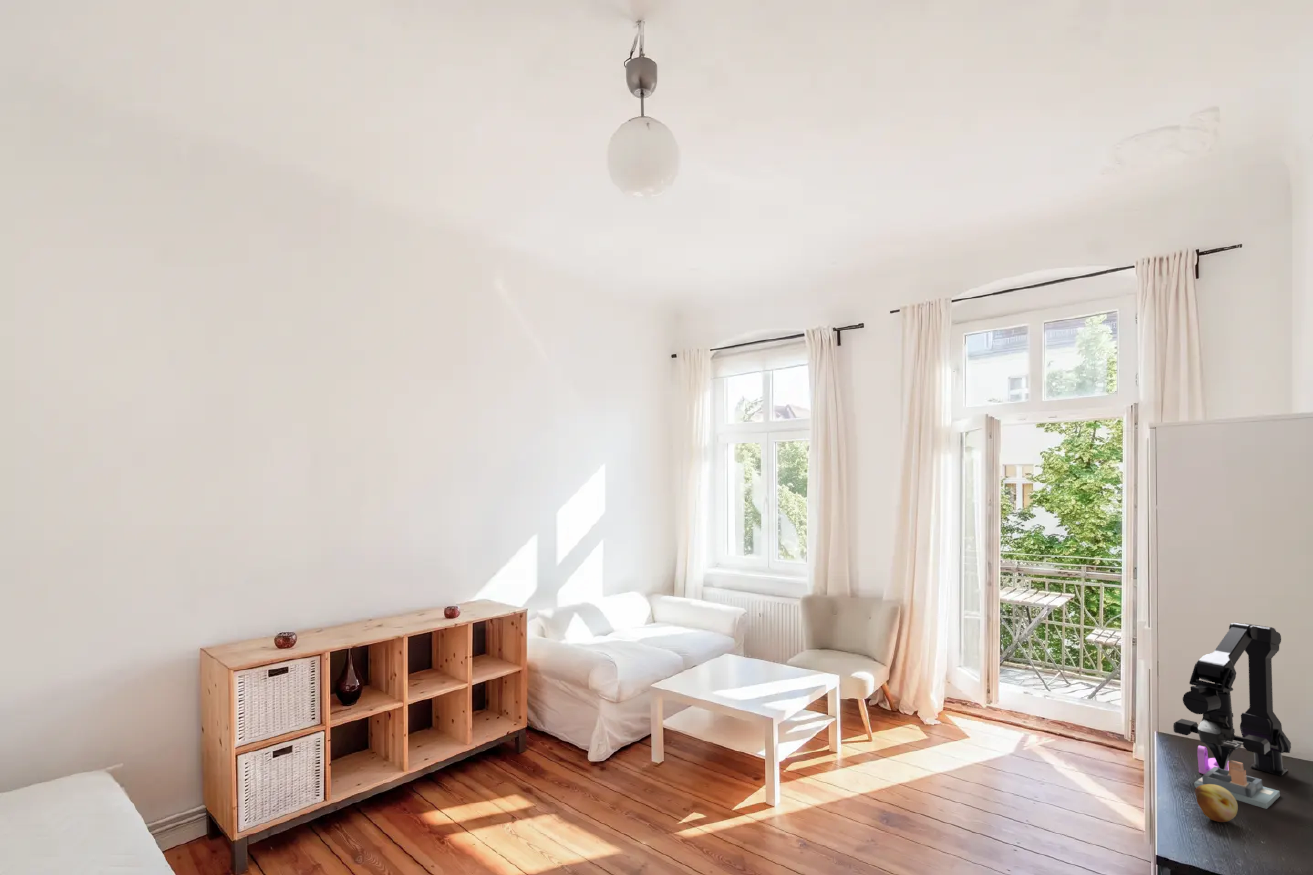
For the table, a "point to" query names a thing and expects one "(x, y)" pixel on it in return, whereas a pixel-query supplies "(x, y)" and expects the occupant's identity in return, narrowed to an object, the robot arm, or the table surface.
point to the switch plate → (1241, 788)
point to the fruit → (1216, 802)
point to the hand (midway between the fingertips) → (1222, 768)
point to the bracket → (1206, 761)
